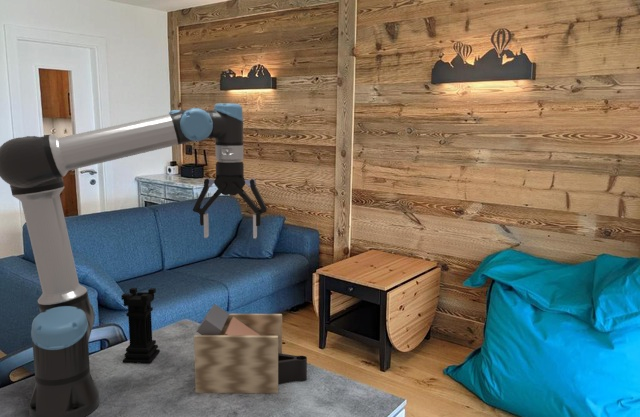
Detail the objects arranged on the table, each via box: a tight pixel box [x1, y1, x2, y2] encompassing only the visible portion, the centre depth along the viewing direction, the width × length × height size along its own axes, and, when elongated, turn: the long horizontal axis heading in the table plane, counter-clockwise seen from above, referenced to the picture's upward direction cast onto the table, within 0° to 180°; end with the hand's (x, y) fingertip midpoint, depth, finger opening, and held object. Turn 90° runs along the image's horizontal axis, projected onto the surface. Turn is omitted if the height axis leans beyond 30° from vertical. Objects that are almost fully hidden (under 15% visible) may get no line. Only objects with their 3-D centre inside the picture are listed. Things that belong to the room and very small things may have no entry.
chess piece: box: [120, 287, 161, 365], centre depth 151 cm, size 8×8×20 cm
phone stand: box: [278, 353, 308, 385], centre depth 140 cm, size 9×6×12 cm
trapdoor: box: [196, 303, 260, 336], centre depth 139 cm, size 18×12×4 cm
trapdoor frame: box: [193, 313, 283, 394], centre depth 140 cm, size 21×17×15 cm
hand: (230, 237), depth 145 cm, fingers open, 13 cm apart
